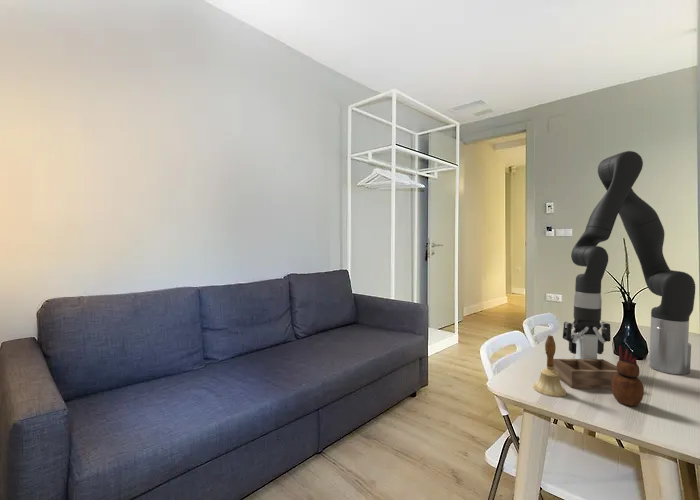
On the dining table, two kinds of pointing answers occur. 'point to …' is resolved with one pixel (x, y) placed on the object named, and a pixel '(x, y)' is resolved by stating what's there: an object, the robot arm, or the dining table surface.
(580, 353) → the skincare box
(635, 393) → the wooden figurine
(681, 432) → the dining table surface
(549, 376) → the hand bell
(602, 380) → the walnut rail
